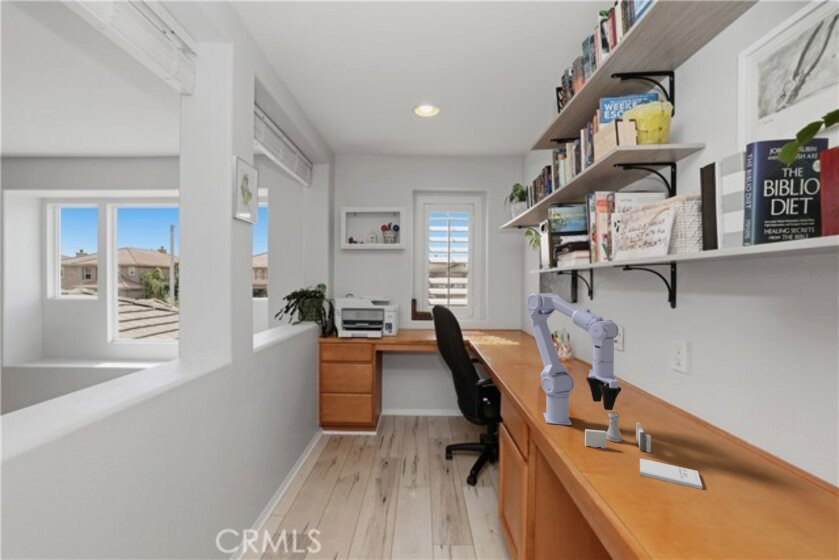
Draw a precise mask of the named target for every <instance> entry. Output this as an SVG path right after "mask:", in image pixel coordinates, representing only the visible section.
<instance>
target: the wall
mask: <svg viewBox="0 0 839 560" xmlns="http://www.w3.org/2000/svg"><path fill="white" fill-rule="evenodd" d="M606 432H607V431H606V430H597V429H596V430H595V429H587V428H585V429H584V446H585V447H586V446H591V447H590V448H597V447H601V448H600V449H607V438H606V436H607V435H606ZM645 452H646V453H649V454H651V452H652V436H651V435H650V434H647V433H646V434H645Z"/></svg>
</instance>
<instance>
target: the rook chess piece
mask: <svg viewBox="0 0 839 560" xmlns="http://www.w3.org/2000/svg"><path fill="white" fill-rule="evenodd" d="M607 417H608V423H609V425H608V429H607V431H605V432H606V440H607V439H608V441H609V440H610V442H612V441H613V443H620V442H622V441H623V438H622V437H623V436H622V435H623V434H621V431H620V428H619V424H620V421H619V419H621V416H620V415H619V413H618V412H615V411H609V413H608V415H607Z"/></svg>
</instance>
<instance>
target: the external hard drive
mask: <svg viewBox="0 0 839 560" xmlns="http://www.w3.org/2000/svg"><path fill="white" fill-rule="evenodd" d="M641 475H643V476H642V477H646V478H650V479H655V480H660V481H663V482H668V483H671V484H676V485H681V486H686V487H690V488H694V489H698V490H703V483H702V481H701V478H700V475H699V471H698V470H694V469H690V468H686V467H681V466H678V465H672V464H667V463H663V462H658V461H654V460H650V459H645V458H639V476H641Z"/></svg>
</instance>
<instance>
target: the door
mask: <svg viewBox="0 0 839 560" xmlns="http://www.w3.org/2000/svg"><path fill="white" fill-rule="evenodd" d="M635 423H636V425H635V426H636V427H635V428H636V429H635V431H636V432H635V439H636V441H637V445H638V447H639V451H643V452H644V451H645V432H644V429H643V427H642V424H641V422H635ZM645 452H646V451H645Z"/></svg>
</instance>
